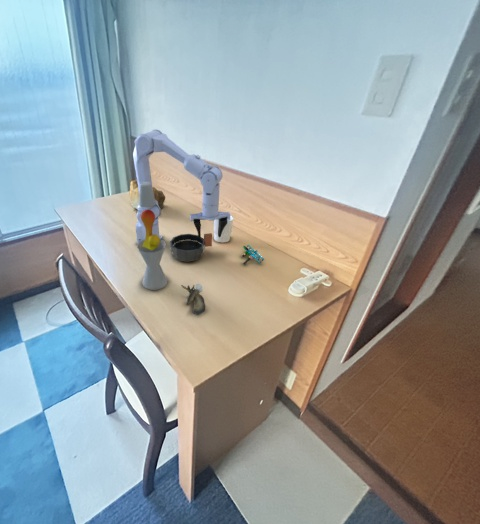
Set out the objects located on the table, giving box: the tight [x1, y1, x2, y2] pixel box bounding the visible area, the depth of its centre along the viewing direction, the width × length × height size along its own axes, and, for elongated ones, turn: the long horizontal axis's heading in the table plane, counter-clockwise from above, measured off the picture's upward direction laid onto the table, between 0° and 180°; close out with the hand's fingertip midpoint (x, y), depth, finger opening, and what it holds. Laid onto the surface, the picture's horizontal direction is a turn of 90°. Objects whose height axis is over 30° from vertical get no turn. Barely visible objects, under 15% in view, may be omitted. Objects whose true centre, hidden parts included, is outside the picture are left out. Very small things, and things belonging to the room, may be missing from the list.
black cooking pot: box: [169, 232, 213, 263], centre depth 109 cm, size 16×13×8 cm
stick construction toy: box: [241, 244, 265, 266], centre depth 106 cm, size 12×7×8 cm
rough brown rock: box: [129, 179, 166, 210], centre depth 148 cm, size 23×17×15 cm
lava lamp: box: [136, 182, 168, 291], centre depth 88 cm, size 9×9×35 cm
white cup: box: [213, 214, 234, 243], centre depth 119 cm, size 8×8×10 cm
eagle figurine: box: [181, 283, 206, 316], centre depth 86 cm, size 8×7×9 cm
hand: (209, 236), depth 108 cm, fingers open, 7 cm apart
